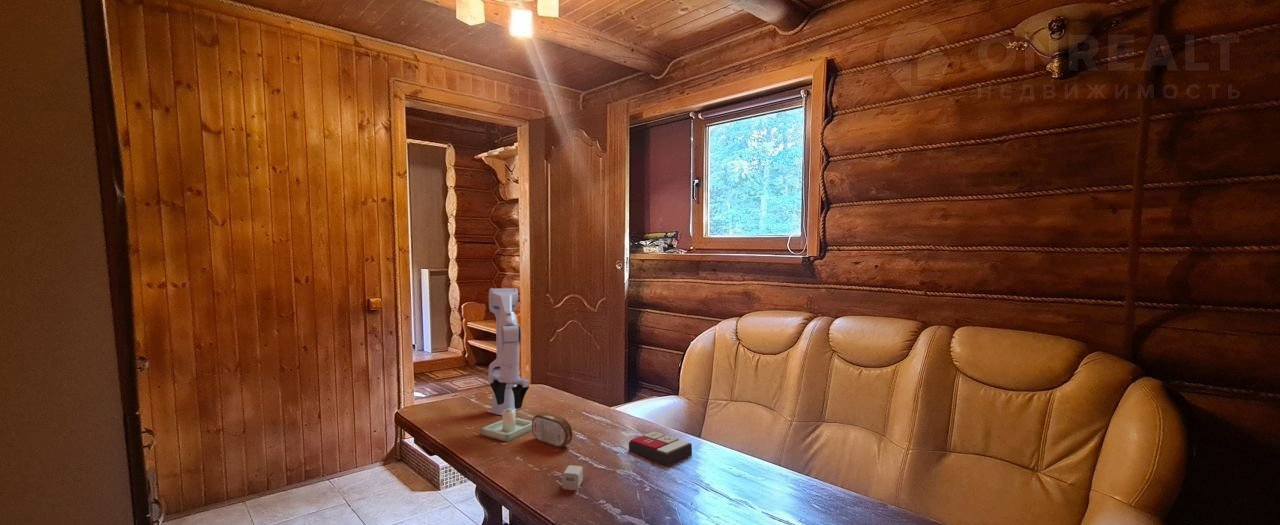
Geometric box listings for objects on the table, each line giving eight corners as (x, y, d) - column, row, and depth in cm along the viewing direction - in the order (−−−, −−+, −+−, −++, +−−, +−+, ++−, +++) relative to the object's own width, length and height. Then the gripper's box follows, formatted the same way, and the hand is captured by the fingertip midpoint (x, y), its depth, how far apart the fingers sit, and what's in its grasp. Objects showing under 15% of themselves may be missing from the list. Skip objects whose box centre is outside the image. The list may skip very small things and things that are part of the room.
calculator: (653, 429, 148) (692, 440, 138) (654, 443, 148) (692, 456, 138) (627, 439, 140) (666, 451, 130) (628, 454, 140) (667, 467, 130)
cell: (508, 426, 156) (509, 406, 156) (518, 429, 154) (518, 408, 154) (499, 430, 153) (499, 410, 153) (508, 432, 151) (509, 412, 151)
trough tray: (511, 422, 162) (511, 416, 162) (536, 428, 157) (536, 422, 157) (480, 434, 151) (480, 428, 151) (506, 441, 145) (506, 435, 145)
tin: (573, 448, 142) (573, 419, 142) (565, 451, 139) (565, 422, 139) (537, 436, 150) (537, 409, 150) (529, 439, 148) (530, 412, 148)
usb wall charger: (562, 489, 117) (562, 472, 117) (570, 476, 124) (570, 460, 124) (578, 490, 116) (578, 473, 116) (585, 477, 123) (585, 461, 123)
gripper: (483, 363, 153) (483, 405, 154) (517, 369, 146) (517, 413, 147) (500, 358, 160) (499, 399, 160) (533, 364, 152) (533, 407, 153)
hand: (509, 406), depth 154 cm, fingers open, 7 cm apart
